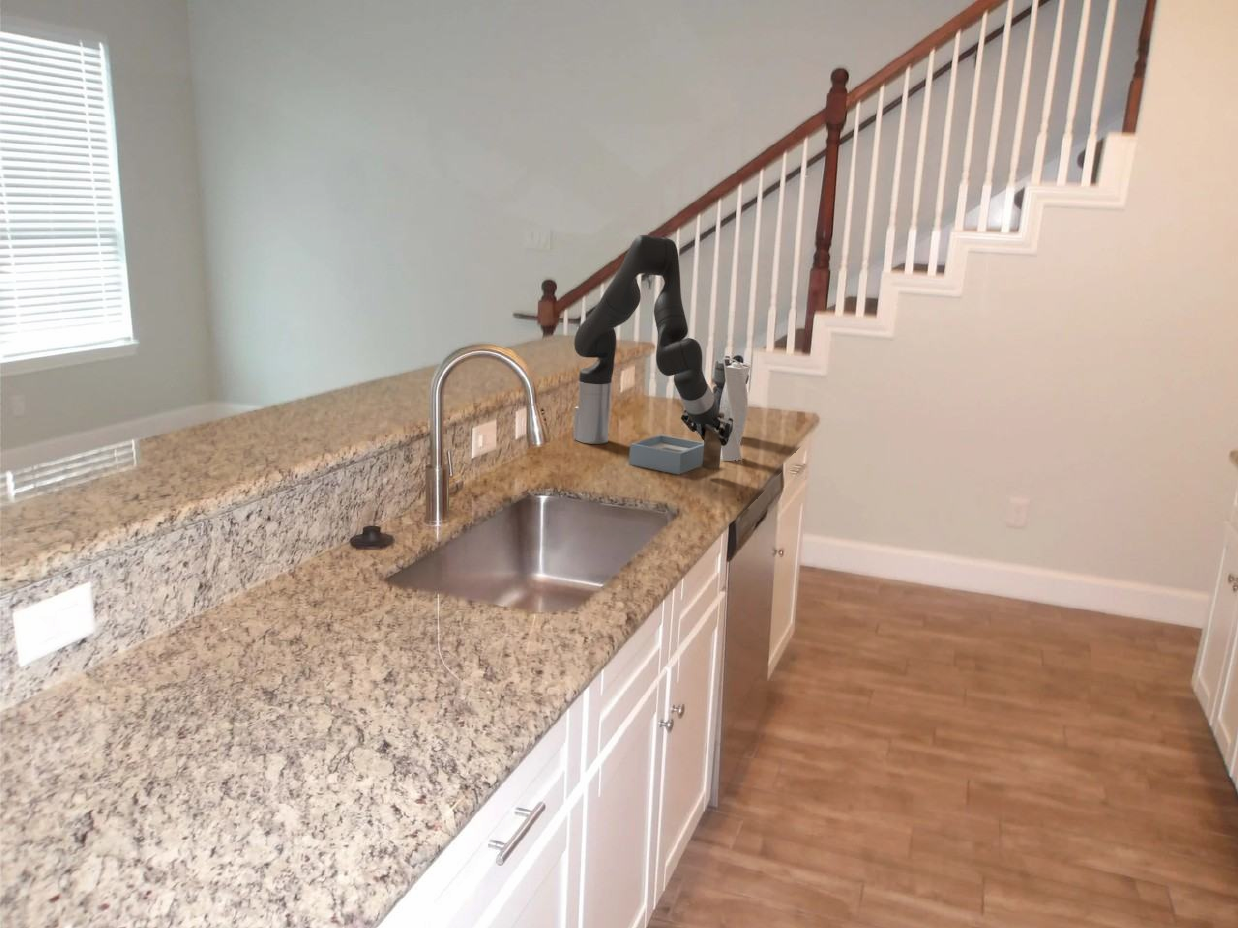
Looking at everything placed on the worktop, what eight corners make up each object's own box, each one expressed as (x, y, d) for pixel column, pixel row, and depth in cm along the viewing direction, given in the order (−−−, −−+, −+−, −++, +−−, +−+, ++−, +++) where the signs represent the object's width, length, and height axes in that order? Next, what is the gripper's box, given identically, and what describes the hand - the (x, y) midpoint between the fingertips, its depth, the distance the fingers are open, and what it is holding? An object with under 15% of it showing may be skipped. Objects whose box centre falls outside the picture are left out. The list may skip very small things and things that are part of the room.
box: (628, 464, 255) (630, 443, 254) (658, 453, 269) (660, 434, 267) (679, 474, 248) (680, 453, 247) (707, 463, 261) (708, 443, 260)
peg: (698, 467, 246) (703, 413, 242) (706, 464, 249) (711, 410, 246) (714, 470, 243) (719, 416, 240) (722, 467, 247) (727, 413, 243)
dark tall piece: (749, 435, 299) (757, 354, 293) (734, 442, 288) (742, 358, 282) (718, 430, 304) (725, 350, 298) (703, 437, 292) (709, 354, 286)
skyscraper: (719, 462, 263) (728, 359, 256) (710, 455, 270) (718, 355, 263) (747, 462, 265) (756, 360, 258) (736, 455, 272) (745, 355, 265)
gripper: (731, 393, 231) (747, 434, 244) (678, 384, 238) (697, 425, 251) (719, 418, 228) (736, 458, 241) (666, 408, 235) (685, 448, 248)
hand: (716, 441), depth 246 cm, fingers closed on peg, 4 cm apart
